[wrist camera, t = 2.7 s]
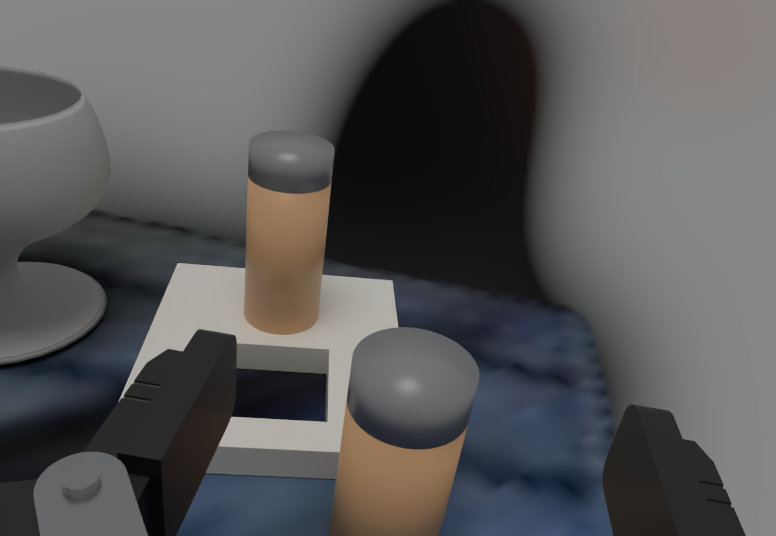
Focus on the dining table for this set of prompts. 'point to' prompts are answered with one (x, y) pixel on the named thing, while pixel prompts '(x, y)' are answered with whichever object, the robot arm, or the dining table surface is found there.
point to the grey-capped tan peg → (402, 433)
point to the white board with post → (279, 309)
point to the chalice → (46, 210)
